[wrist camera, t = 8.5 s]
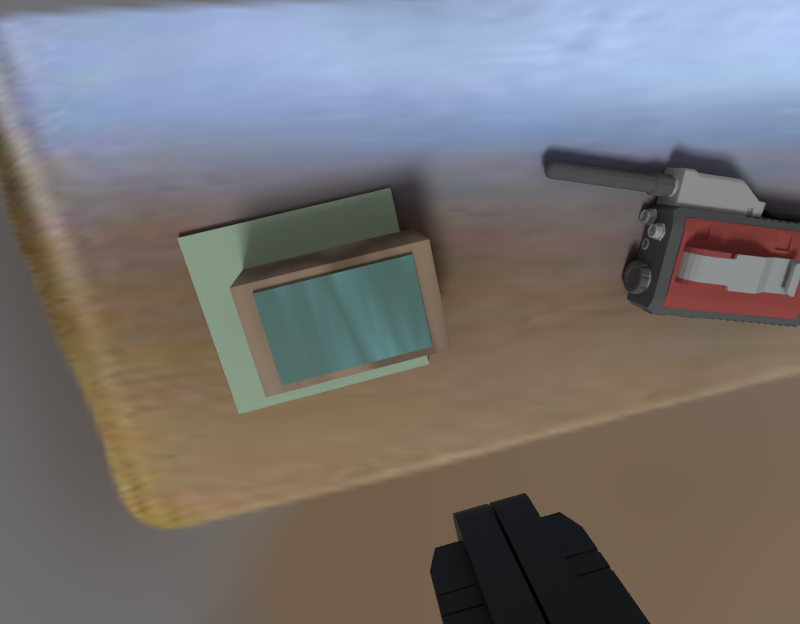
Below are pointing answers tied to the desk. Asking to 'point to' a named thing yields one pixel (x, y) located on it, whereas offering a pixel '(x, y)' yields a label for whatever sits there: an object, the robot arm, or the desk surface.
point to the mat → (269, 242)
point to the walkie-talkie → (705, 246)
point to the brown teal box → (341, 311)
